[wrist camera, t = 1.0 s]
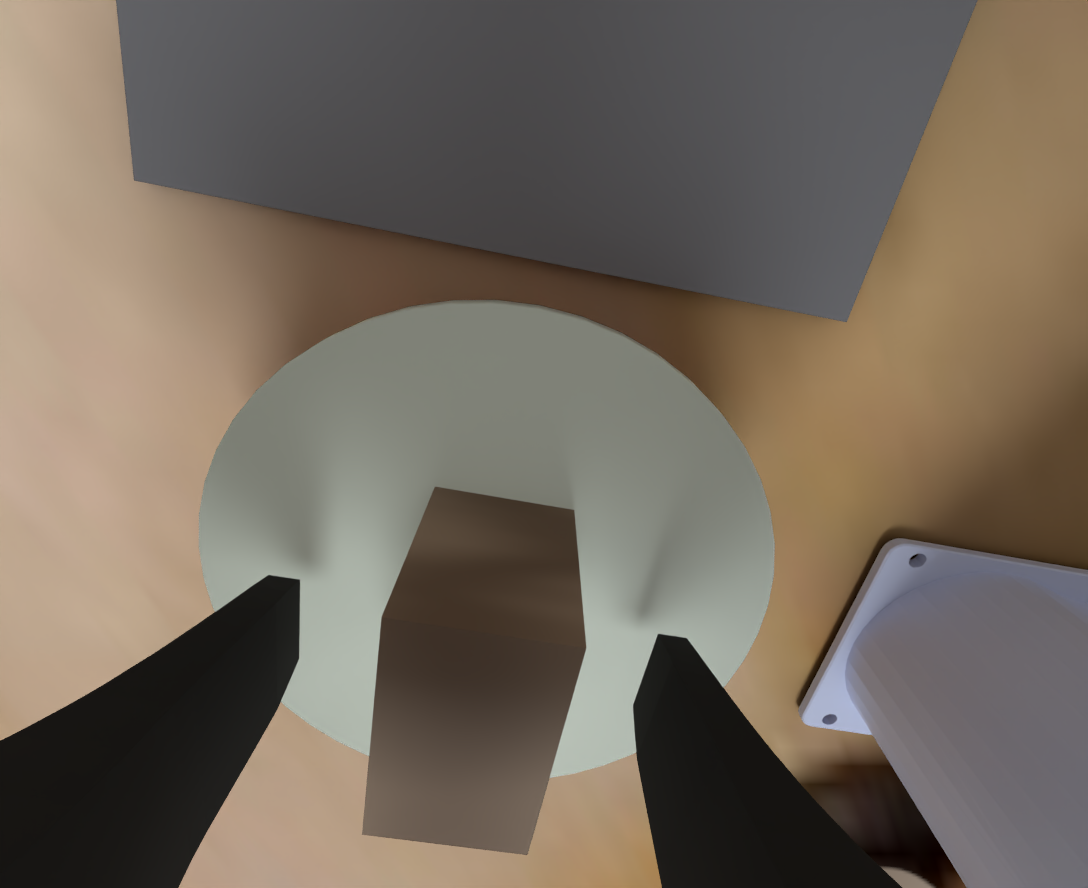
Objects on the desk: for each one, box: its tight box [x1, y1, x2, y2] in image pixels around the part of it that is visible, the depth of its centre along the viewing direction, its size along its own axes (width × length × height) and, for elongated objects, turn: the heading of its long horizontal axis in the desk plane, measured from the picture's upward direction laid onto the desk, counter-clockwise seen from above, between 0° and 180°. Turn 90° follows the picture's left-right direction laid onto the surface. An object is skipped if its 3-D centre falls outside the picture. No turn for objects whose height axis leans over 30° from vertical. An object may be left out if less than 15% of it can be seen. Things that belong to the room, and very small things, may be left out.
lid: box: [199, 300, 775, 855], centre depth 11 cm, size 13×13×5 cm
